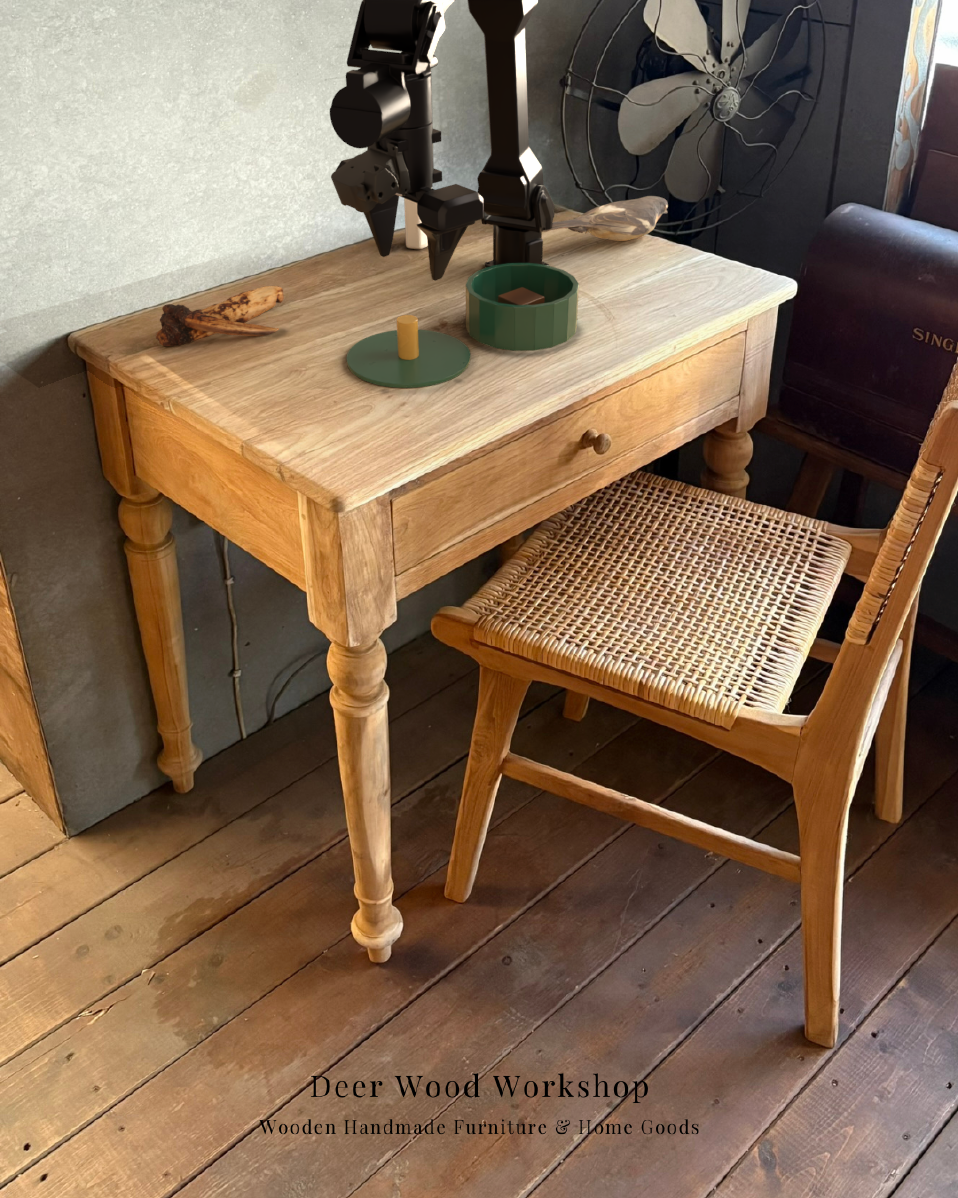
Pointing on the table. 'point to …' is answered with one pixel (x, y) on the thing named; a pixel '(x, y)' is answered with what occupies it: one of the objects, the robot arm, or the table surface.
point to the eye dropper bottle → (413, 227)
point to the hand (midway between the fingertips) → (410, 267)
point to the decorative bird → (618, 219)
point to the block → (521, 297)
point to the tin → (521, 307)
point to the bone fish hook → (218, 317)
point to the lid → (408, 356)
